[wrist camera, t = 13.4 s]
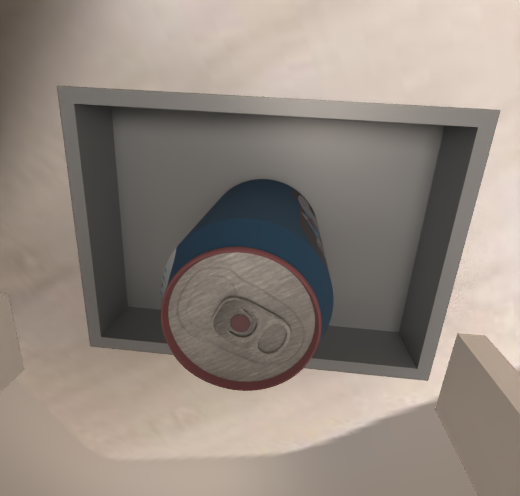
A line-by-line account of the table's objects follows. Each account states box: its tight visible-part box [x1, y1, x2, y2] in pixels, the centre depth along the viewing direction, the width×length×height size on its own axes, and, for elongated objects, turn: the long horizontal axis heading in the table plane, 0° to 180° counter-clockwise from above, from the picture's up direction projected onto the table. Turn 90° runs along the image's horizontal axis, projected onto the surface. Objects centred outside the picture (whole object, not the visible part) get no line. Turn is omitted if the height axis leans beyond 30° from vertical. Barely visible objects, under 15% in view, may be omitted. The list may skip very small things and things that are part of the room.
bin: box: [57, 86, 500, 381], centre depth 22 cm, size 22×16×5 cm
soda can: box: [161, 179, 334, 391], centre depth 18 cm, size 7×7×12 cm
